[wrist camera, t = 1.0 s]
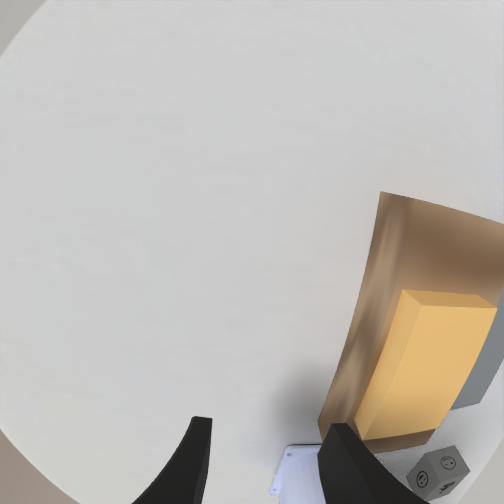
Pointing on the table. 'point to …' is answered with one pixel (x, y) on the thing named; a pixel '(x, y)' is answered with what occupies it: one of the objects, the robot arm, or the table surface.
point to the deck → (411, 278)
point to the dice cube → (437, 473)
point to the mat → (484, 362)
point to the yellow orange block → (423, 362)
